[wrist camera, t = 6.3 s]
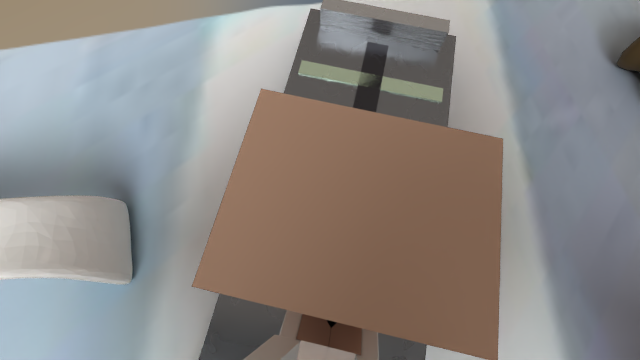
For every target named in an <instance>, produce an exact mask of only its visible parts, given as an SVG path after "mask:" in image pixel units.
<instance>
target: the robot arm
mask: <svg viewBox="0 0 640 360" xmlns="http://www.w3.org/2000/svg"><path fill="white" fill-rule="evenodd" d="M243 360H379V351H378V332H374V331H370V330H366V329H362V328H358V327H354V326H350V325H346V324H342V323H338V322H334V321H330V320H326V319H321V318H317V317H313V316H309V315H305V314H301V313H297V312H293V311H289V310H287V311H286V314H285V317H284V321H283V324H282V327H281V330H280V334H279V335H274V336H272V337H271V338H270V339H269V340H267V341H266V342H265V343H263V344H262V345H261V346H260V347H258V348H257V349H256V350H255V351H253V352H252V353H251V354H250V355H248V356H247V357H246V358H245V359H243Z"/></svg>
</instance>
